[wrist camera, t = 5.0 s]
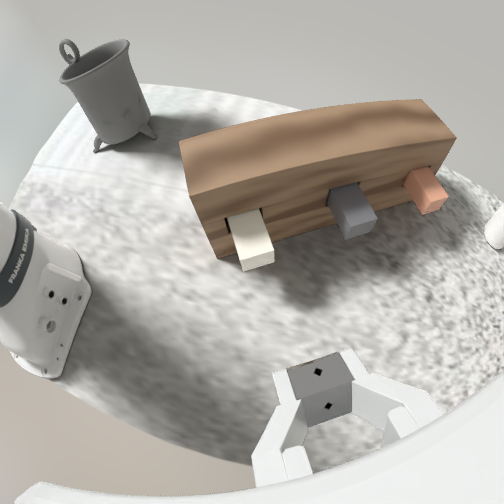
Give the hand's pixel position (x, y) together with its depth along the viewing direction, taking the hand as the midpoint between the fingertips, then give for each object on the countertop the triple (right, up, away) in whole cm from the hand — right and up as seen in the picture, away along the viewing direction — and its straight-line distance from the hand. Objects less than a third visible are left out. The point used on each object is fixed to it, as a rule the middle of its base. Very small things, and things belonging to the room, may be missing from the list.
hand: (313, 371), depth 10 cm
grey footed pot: (-29, +29, +42) cm, 59 cm away
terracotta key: (+21, +12, +24) cm, 34 cm away
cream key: (-2, +5, +22) cm, 23 cm away
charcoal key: (+9, +9, +23) cm, 26 cm away
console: (+8, +12, +31) cm, 34 cm away
